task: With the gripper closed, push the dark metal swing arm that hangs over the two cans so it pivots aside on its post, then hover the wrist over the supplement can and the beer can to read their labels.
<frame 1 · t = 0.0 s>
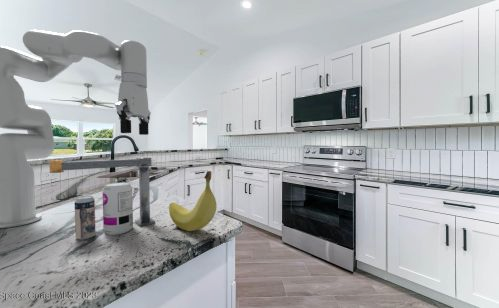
hand: (135, 133, 74), 31 cm above the table, tool pointing down, fingers open, 9 cm apart
post: (145, 223, 78), on the table
beer can: (85, 237, 66), on the table
supplement can: (118, 231, 71), on the table
banana: (190, 230, 72), on the table
swing arm: (107, 163, 69), point 22 cm above the table, hinge at 0.0°
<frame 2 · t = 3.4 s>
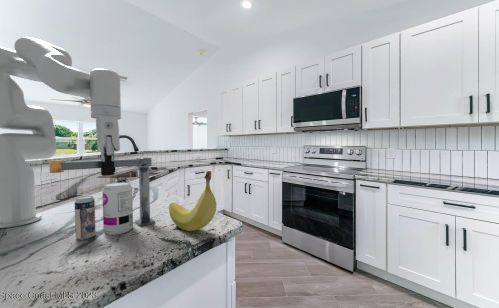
hand: (107, 174, 66), 19 cm above the table, tool pointing down, fingers closed
swing arm: (107, 163, 69), point 22 cm above the table, hinge at 0.6°, touching gripper
everything else where it was.
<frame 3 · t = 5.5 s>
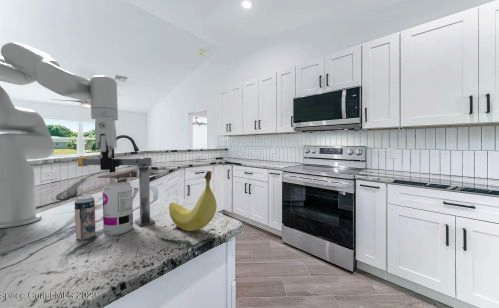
hand: (106, 169, 75), 19 cm above the table, tool pointing down, fingers closed
swing arm: (114, 161, 78), point 22 cm above the table, hinge at 49.9°, touching gripper
everything else where it was.
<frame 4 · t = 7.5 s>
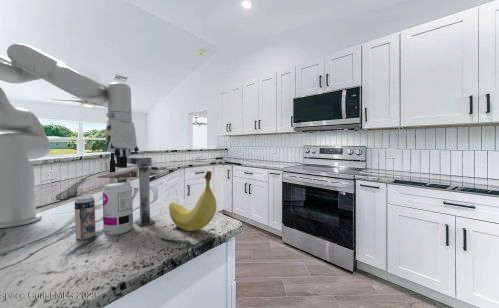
hand: (121, 167, 82), 19 cm above the table, tool pointing down, fingers closed
swing arm: (132, 160, 85), point 22 cm above the table, hinge at 88.0°, touching gripper
everything else where it was.
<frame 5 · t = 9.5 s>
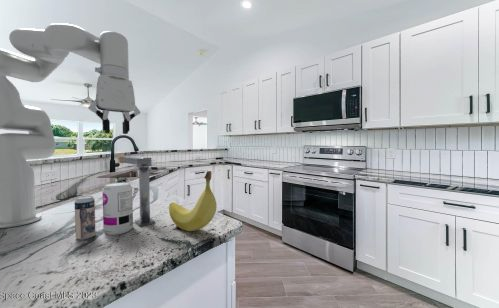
hand: (116, 132, 70), 31 cm above the table, tool pointing down, fingers open, 4 cm apart
swing arm: (132, 160, 85), point 22 cm above the table, hinge at 88.1°
everything else where it was.
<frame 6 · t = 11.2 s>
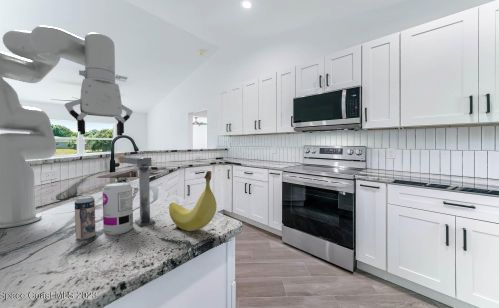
hand: (102, 135, 68), 31 cm above the table, tool pointing down, fingers open, 9 cm apart
nothing on the table moved.
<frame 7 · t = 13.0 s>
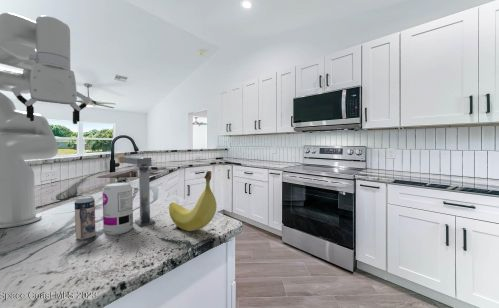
hand: (54, 122, 66), 34 cm above the table, tool pointing down, fingers open, 9 cm apart
nothing on the table moved.
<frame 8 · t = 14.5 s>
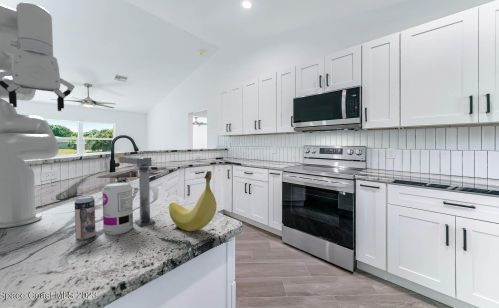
hand: (38, 108, 66), 38 cm above the table, tool pointing down, fingers open, 9 cm apart
nothing on the table moved.
at the end: swing arm at +88° (first picture: +0°); supplement can moved 0.2 cm from its start; beer can moved 0.2 cm from its start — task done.
